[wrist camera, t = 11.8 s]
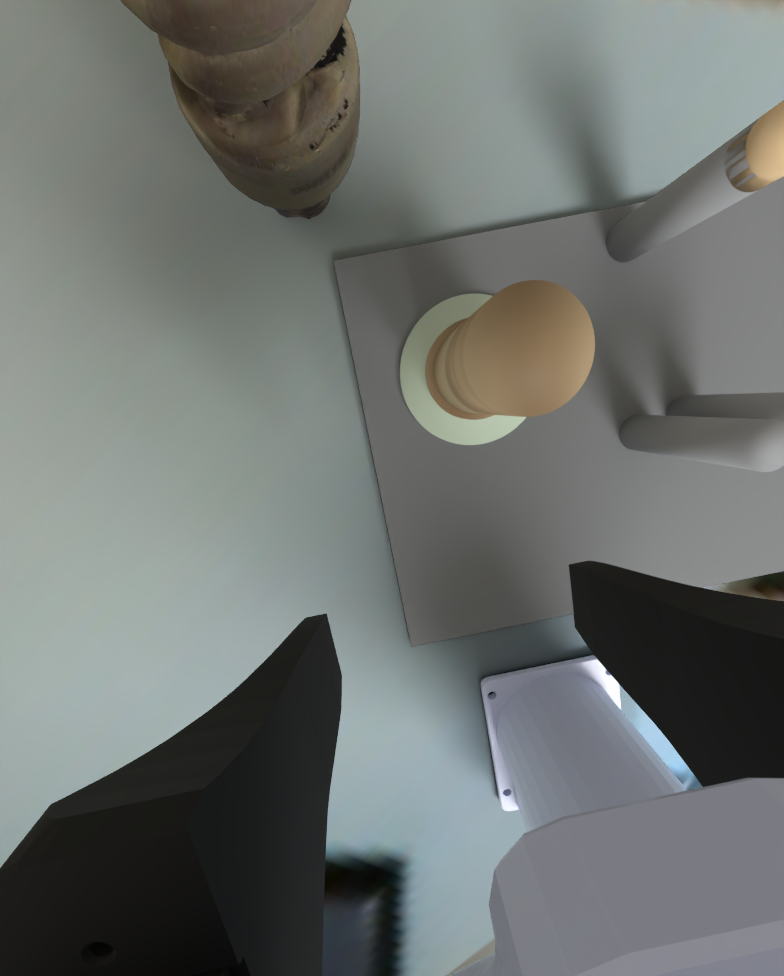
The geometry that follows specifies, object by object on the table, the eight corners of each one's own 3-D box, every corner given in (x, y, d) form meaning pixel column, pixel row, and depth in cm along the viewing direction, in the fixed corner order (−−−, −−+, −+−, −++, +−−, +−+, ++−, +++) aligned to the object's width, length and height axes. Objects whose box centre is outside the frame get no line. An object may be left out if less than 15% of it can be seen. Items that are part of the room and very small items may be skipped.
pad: (548, 429, 20) (551, 430, 20) (413, 456, 20) (414, 457, 20) (533, 282, 19) (536, 280, 18) (387, 310, 19) (387, 308, 18)
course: (867, 549, 23) (1120, 622, 15) (410, 642, 23) (432, 766, 15) (895, 157, 19) (1263, -17, 11) (334, 263, 18) (308, 161, 11)
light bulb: (304, 89, 17) (-121, -1951, 2) (396, 192, 18) (514, -764, 3) (218, 194, 18) (-548, -877, 3) (312, 288, 19) (95, -153, 4)
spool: (513, 311, 19) (598, 255, 12) (525, 409, 20) (609, 411, 13) (417, 329, 18) (446, 284, 12) (433, 427, 19) (469, 438, 13)
